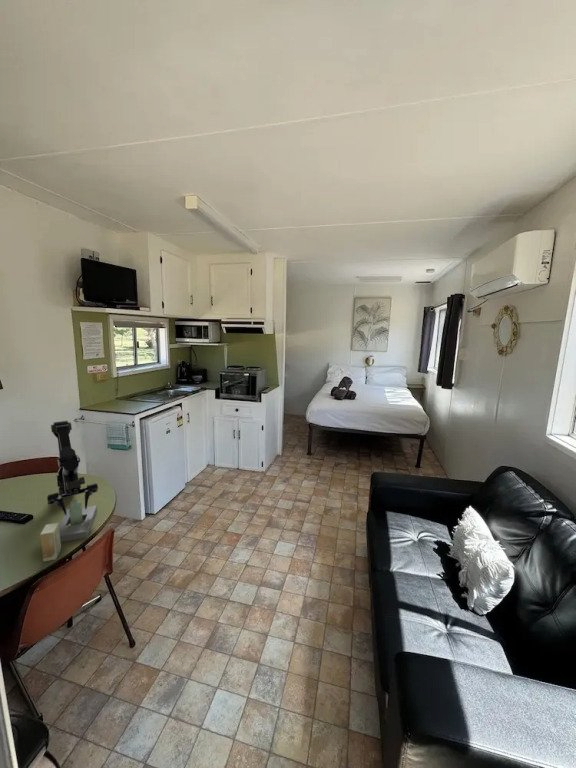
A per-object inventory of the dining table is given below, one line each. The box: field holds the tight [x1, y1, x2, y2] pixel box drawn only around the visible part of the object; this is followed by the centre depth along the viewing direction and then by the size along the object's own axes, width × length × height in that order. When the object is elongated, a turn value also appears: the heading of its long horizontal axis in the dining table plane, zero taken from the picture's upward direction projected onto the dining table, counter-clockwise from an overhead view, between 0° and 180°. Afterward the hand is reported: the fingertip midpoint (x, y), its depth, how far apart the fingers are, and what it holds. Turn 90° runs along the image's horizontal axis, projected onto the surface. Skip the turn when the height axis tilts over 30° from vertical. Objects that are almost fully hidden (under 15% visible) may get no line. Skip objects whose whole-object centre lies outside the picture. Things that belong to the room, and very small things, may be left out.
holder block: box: [59, 505, 98, 543], centre depth 137 cm, size 20×12×3 cm, turn 21°
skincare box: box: [39, 522, 62, 563], centre depth 119 cm, size 6×4×12 cm
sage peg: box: [68, 499, 83, 525], centre depth 137 cm, size 4×4×12 cm
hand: (76, 511), depth 135 cm, fingers open, 7 cm apart
